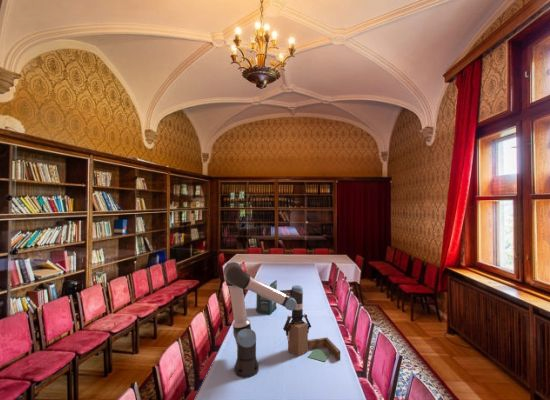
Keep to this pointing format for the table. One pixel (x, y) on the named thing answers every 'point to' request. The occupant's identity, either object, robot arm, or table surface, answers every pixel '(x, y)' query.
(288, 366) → the table surface
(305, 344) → the wooden block
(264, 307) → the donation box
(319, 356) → the pad
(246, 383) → the table surface
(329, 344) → the wooden corner bracket
